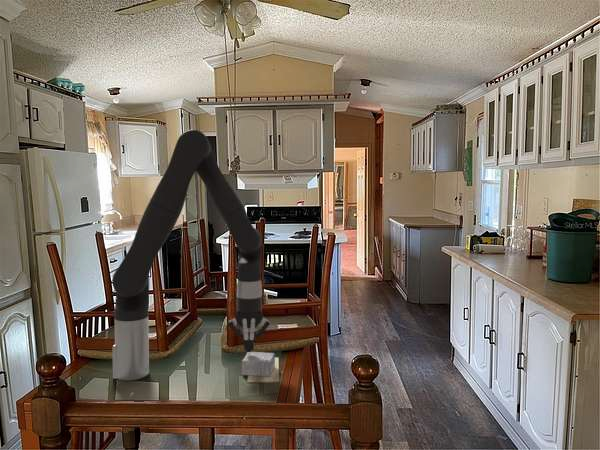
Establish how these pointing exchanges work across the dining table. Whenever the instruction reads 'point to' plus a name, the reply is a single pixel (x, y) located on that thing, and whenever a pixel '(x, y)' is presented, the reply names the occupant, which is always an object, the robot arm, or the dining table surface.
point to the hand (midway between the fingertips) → (249, 351)
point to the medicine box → (258, 364)
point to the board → (272, 378)
